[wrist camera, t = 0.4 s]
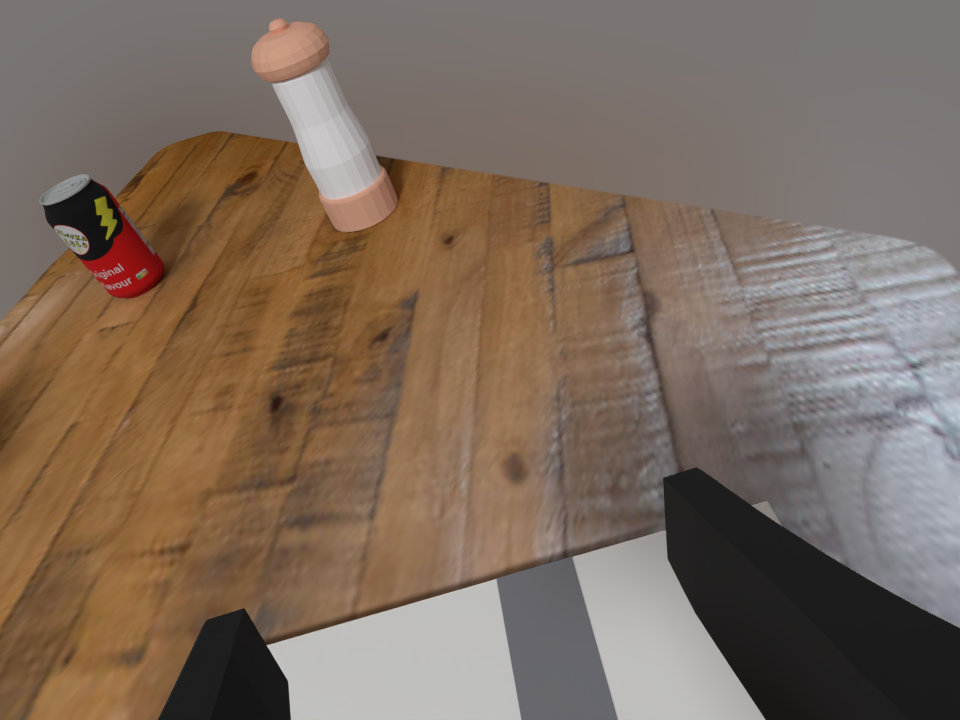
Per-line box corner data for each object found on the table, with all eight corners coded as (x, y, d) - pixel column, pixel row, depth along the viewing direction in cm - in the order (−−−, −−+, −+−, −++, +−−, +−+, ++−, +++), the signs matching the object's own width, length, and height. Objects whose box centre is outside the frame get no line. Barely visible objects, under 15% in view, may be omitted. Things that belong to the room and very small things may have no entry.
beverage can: (111, 287, 72) (32, 194, 65) (164, 259, 74) (92, 164, 66) (118, 311, 68) (33, 214, 60) (173, 280, 69) (98, 181, 61)
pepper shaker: (368, 236, 64) (271, 36, 51) (319, 228, 68) (219, 42, 56) (411, 194, 68) (332, -2, 55) (363, 189, 72) (278, 6, 59)
